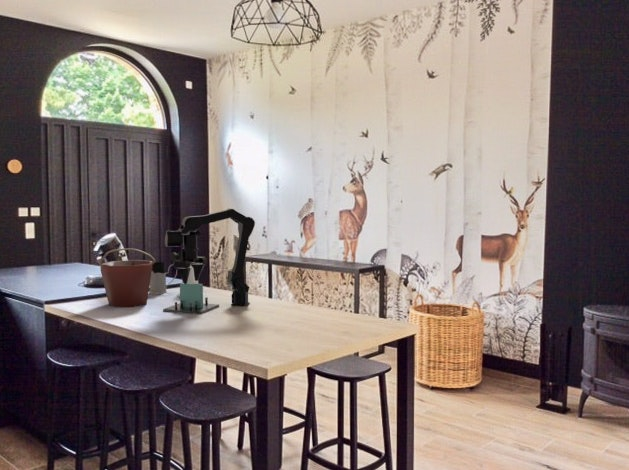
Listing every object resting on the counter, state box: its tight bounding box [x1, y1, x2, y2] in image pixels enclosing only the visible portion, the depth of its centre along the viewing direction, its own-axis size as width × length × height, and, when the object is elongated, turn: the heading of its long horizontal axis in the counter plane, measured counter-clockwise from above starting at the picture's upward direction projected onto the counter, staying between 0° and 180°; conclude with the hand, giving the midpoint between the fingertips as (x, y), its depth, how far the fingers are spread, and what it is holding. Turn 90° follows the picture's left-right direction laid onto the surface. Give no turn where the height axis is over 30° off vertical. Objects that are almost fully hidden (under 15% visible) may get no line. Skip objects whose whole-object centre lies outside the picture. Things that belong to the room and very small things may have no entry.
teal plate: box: [179, 282, 204, 308], centre depth 249 cm, size 10×2×10 cm, turn 72°
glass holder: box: [148, 261, 178, 295], centre depth 291 cm, size 9×14×15 cm, turn 115°
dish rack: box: [162, 296, 220, 315], centre depth 249 cm, size 18×16×4 cm
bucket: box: [96, 247, 156, 308], centre depth 262 cm, size 24×22×25 cm
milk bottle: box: [181, 264, 199, 284], centre depth 291 cm, size 8×8×20 cm
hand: (190, 282), depth 249 cm, fingers open, 9 cm apart
